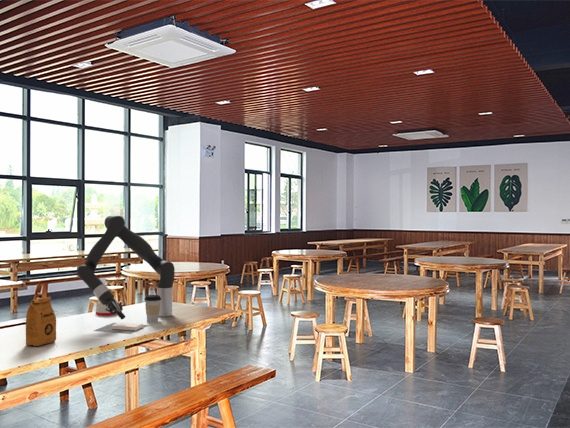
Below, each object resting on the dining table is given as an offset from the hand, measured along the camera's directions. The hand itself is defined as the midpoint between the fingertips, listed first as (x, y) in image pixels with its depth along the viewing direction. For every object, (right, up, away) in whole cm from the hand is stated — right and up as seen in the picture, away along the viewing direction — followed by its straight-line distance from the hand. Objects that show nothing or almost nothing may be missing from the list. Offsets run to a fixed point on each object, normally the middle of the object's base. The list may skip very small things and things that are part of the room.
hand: (123, 318), depth 275 cm
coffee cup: (+11, -6, +18) cm, 22 cm away
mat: (-1, -6, 0) cm, 6 cm away
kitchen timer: (-23, -5, +40) cm, 46 cm away
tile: (-5, -4, +1) cm, 6 cm away
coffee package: (-29, -6, -32) cm, 44 cm away
